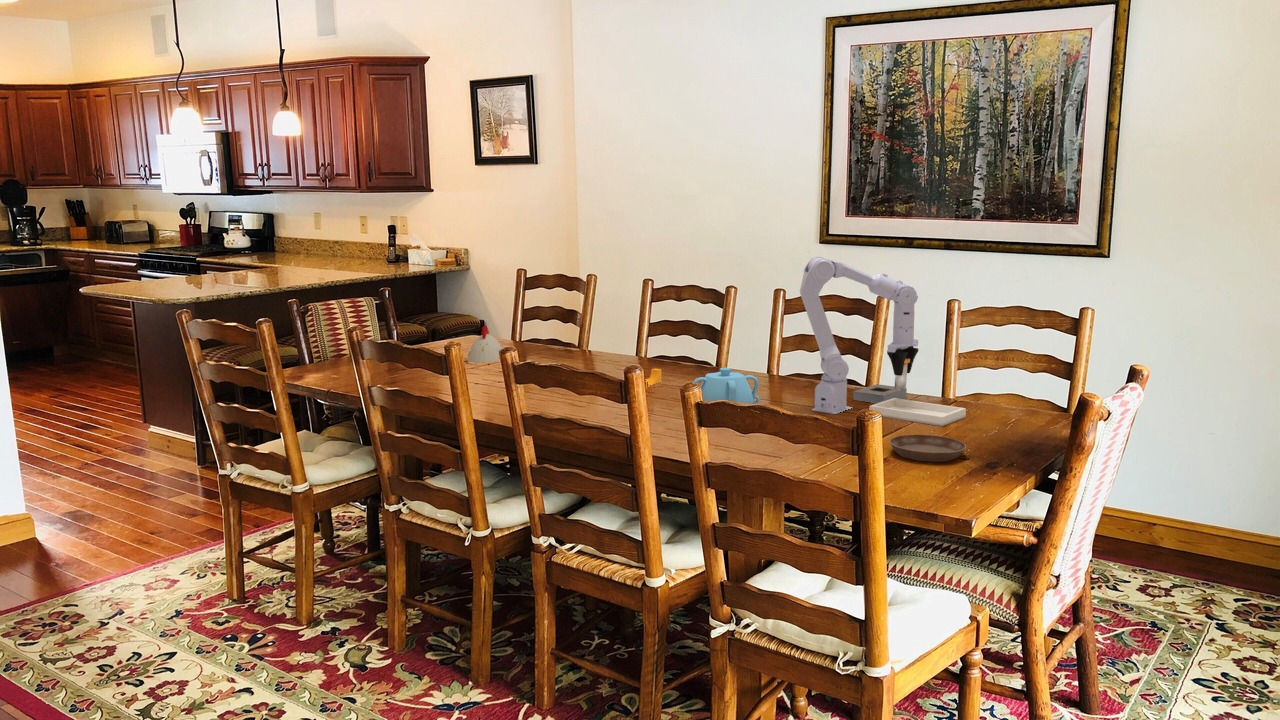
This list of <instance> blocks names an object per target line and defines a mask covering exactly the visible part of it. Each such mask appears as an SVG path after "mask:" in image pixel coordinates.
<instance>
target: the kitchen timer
mask: <svg viewBox="0 0 1280 720" xmlns="http://www.w3.org/2000/svg"><path fill="white" fill-rule="evenodd" d="M489 332H490V330H489V328H488V325H484V326H483V327H482V331H481V335H480V336H478V337H477V338H476V339H475V341H474V342H473V344H472V345H471V347H470V348H468V352H467V353H468V354H467V362H468V361H469V362H474V363H480V362H493V361H497V360H498V362H499V351H500V350H501V349H504V346H501V344H500V342H499V341H498V340H497V339H496V338H495V337H494V336H493V335H490V333H489Z"/></svg>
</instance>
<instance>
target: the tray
mask: <svg viewBox="0 0 1280 720" xmlns="http://www.w3.org/2000/svg"><path fill="white" fill-rule="evenodd" d="M869 410H876V411H878V412H880V413H881V414H882V416H883V417H882V416H881V417H882V418H889V419H894V420H900V421H906V422H912V423H918V424H919V423H920V424H924V425H925V424H927V425H932V426H936V427H937V426H938V427H943V426H947V425H950V424H952V423H955V422H957V421H960V420H962V419H965V418H966V417H967V415H966V414H967V413H966V412H967V408H964V407H961V406H960V407H958V406H952V405H944V404H939V403H931V402H924V401H917V400H910V399H905V398H904V399H897V398H893V399H890V400H886V401H883V402H880V403H877V404H872V405H869V409H868V411H869Z"/></svg>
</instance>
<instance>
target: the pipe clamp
mask: <svg viewBox="0 0 1280 720" xmlns="http://www.w3.org/2000/svg"><path fill="white" fill-rule="evenodd" d="M650 371H651V372H650V375H649V377H648V378H645V380H646V381H645V382H646V389H647V382H648V387H650V385H651V386H652V385H653V384H656V383H658V382H661V383H662V368H651V369H650Z"/></svg>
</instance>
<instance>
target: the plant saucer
mask: <svg viewBox="0 0 1280 720" xmlns="http://www.w3.org/2000/svg"><path fill="white" fill-rule="evenodd" d="M889 444H890V446H891V447H892V449H893V450H894V451H895V452H896V454H898V455H899V456H900V457H902V458H905V459H909V460H913V461H920V462H930V463H931V462H932V463H934V462H935V463H936V462H941V463H942V462H949V461H952V460H955V459H957V458H958V457H960V456H961V455H962V454H963V453H964V451H965V450H966V449H967V445H966V443H965V442H963V441H961V440H959V439H955V438H951V437H947V436H940V435H932V434H931V435H930V434H905V435H899V436H894V437H892V438H891V439H890V440H889Z"/></svg>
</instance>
